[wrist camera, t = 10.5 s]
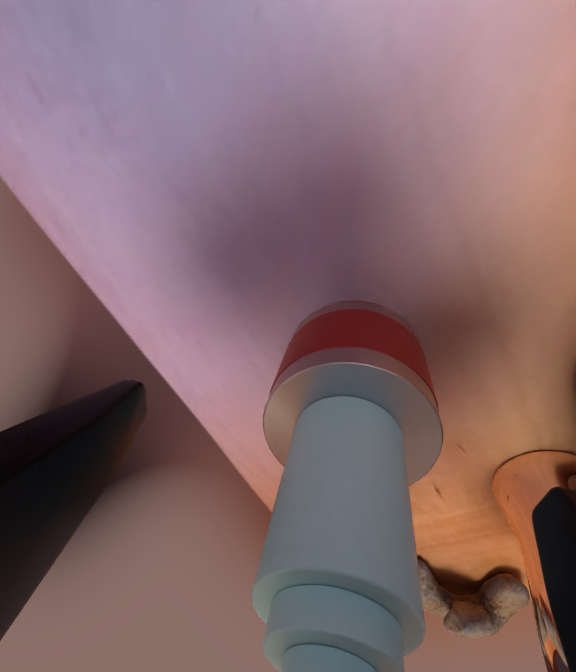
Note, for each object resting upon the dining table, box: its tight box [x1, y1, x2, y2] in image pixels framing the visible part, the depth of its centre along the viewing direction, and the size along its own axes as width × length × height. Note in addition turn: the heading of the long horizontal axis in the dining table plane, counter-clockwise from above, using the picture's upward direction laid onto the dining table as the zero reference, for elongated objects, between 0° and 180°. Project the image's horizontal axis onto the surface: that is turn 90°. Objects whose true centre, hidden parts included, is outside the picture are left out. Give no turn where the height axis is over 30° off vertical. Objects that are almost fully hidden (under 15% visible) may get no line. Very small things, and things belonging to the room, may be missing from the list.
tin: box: [263, 301, 443, 486], centre depth 18 cm, size 8×8×6 cm
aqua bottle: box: [252, 396, 425, 672], centre depth 11 cm, size 5×5×10 cm
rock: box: [417, 559, 530, 638], centre depth 29 cm, size 20×5×7 cm
